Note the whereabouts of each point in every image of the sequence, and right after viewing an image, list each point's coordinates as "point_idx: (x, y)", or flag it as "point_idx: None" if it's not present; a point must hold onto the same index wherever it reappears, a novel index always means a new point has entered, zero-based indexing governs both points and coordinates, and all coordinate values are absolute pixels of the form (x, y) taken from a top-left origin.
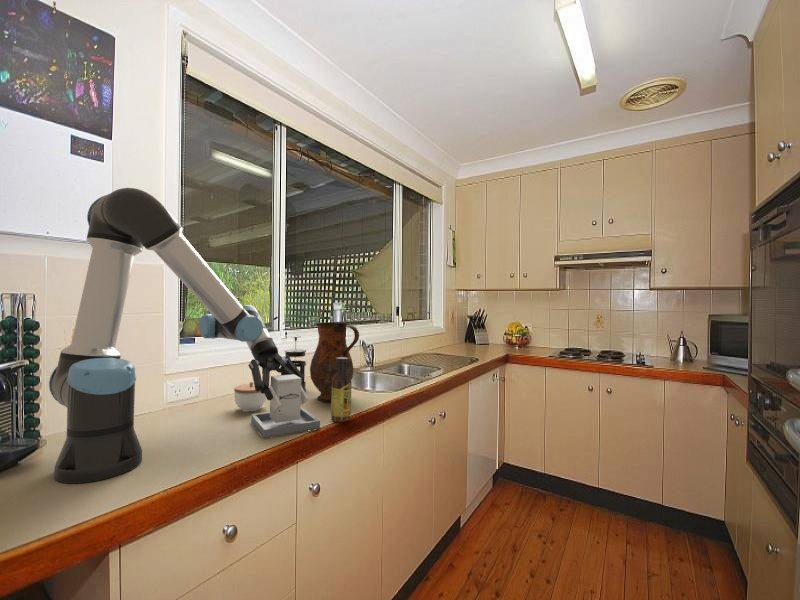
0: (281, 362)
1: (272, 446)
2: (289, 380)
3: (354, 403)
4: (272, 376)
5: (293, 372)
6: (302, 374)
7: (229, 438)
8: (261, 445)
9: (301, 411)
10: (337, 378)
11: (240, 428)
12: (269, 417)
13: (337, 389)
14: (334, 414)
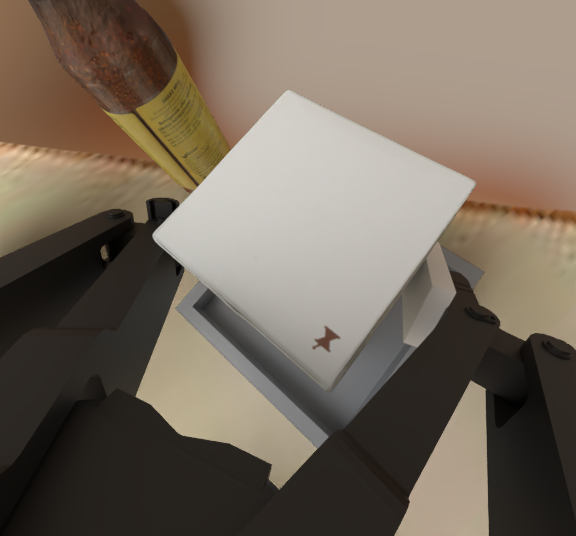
0: (15, 388)
1: (502, 216)
2: (374, 137)
3: (33, 219)
4: (354, 349)
5: (73, 290)
6: (84, 220)
7: None
8: (517, 251)
9: (207, 293)
10: (133, 11)
11: None
12: (290, 393)
13: (179, 67)
14: None
